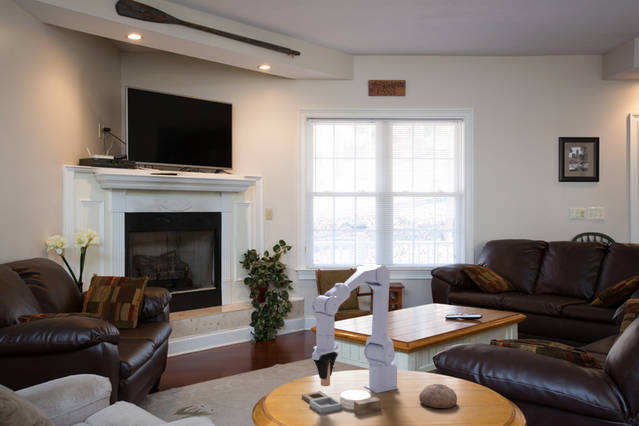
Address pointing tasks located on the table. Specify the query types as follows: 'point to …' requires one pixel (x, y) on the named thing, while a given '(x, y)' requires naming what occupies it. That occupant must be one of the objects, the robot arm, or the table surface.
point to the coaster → (352, 398)
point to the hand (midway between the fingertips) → (325, 377)
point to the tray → (325, 405)
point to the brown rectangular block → (367, 406)
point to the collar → (311, 395)
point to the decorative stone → (438, 396)
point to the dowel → (326, 381)
